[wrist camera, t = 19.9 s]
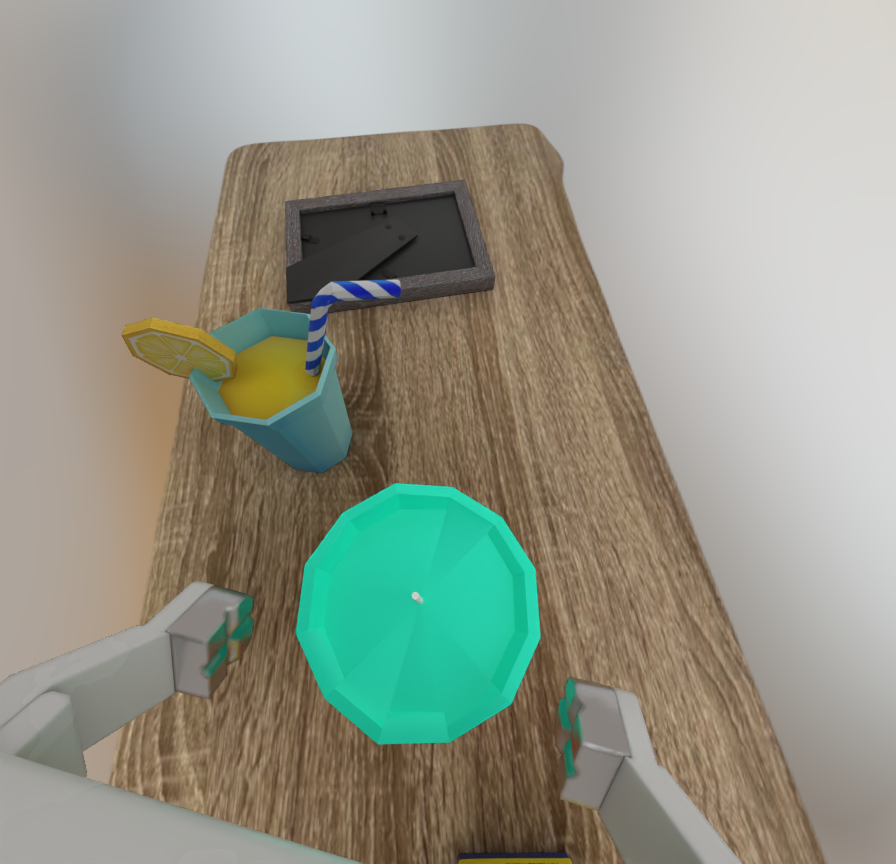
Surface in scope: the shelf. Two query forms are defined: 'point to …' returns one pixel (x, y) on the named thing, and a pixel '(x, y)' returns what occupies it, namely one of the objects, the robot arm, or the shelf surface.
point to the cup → (267, 373)
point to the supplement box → (514, 858)
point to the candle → (418, 614)
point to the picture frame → (386, 244)
